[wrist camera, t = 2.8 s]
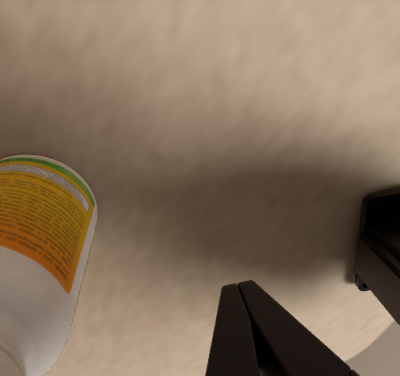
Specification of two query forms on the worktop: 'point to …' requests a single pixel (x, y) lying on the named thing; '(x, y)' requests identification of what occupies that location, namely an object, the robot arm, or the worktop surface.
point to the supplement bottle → (40, 259)
